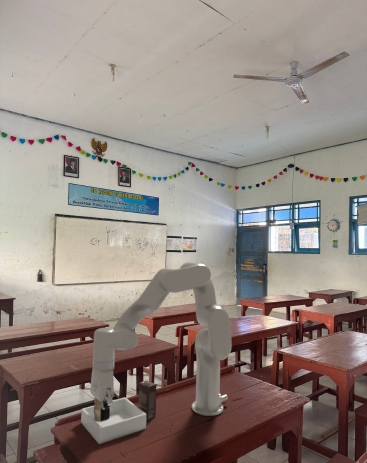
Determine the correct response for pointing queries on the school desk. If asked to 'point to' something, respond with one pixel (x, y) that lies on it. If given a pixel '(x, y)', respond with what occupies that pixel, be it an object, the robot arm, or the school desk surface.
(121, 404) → the tote
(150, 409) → the box
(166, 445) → the school desk surface
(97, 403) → the beige piece
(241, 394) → the school desk surface
